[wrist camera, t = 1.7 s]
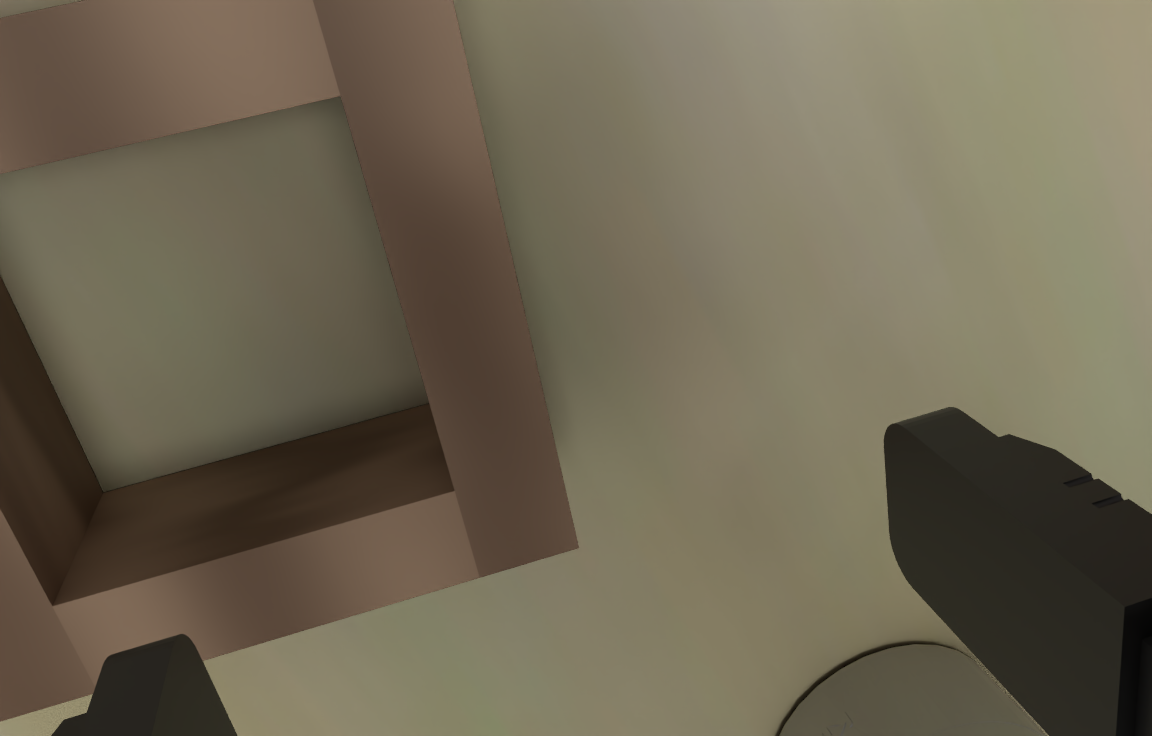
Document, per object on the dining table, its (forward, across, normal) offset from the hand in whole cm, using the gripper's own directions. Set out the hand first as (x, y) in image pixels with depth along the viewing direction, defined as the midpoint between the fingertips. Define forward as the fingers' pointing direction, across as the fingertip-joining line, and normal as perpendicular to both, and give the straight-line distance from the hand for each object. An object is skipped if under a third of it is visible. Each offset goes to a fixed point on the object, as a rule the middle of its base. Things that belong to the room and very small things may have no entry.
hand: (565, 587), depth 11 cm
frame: (+15, +6, 0) cm, 17 cm away
